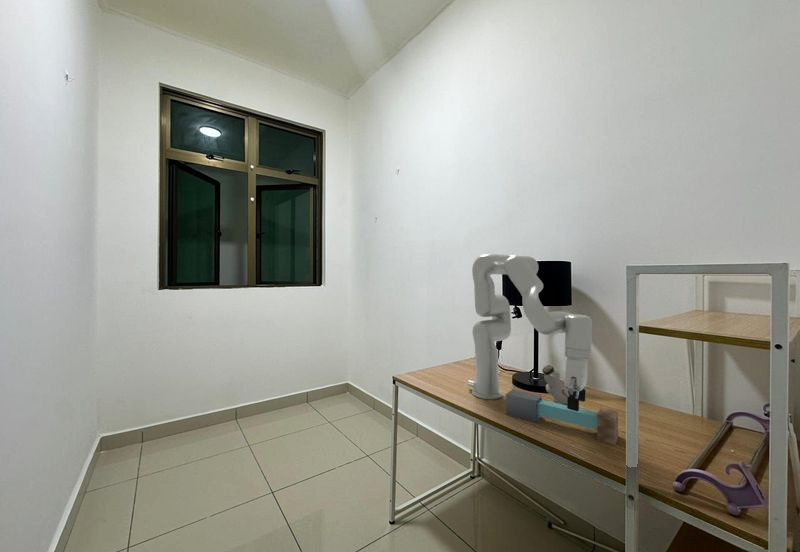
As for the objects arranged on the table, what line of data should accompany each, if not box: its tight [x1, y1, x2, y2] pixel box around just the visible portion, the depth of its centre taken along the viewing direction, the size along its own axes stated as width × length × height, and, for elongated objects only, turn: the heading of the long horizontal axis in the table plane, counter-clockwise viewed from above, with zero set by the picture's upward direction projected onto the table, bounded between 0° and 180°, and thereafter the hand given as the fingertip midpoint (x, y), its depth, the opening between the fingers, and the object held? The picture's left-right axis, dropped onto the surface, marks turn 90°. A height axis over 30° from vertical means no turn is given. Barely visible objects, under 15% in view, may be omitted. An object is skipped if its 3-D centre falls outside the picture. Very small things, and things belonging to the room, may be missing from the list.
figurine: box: [541, 365, 568, 405], centre depth 126 cm, size 9×10×15 cm
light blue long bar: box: [537, 399, 599, 431], centre depth 106 cm, size 24×4×4 cm, turn 50°
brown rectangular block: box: [596, 407, 619, 446], centre depth 99 cm, size 4×7×8 cm, turn 140°
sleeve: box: [505, 389, 543, 424], centre depth 115 cm, size 11×6×8 cm, turn 50°
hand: (576, 404), depth 104 cm, fingers open, 9 cm apart
